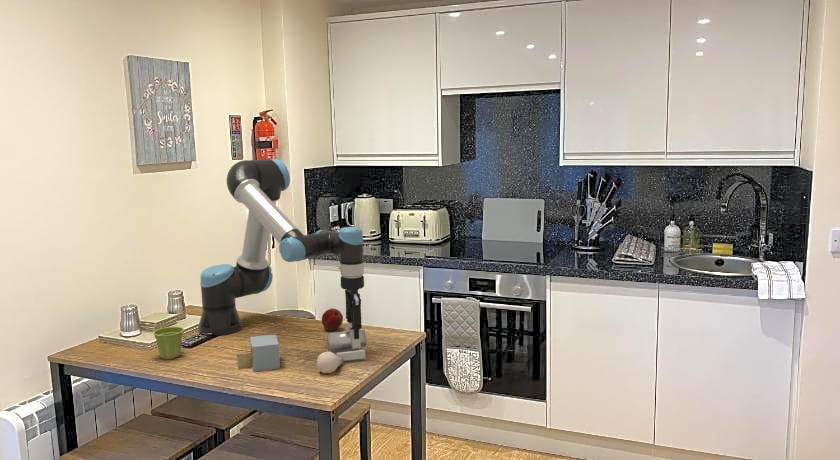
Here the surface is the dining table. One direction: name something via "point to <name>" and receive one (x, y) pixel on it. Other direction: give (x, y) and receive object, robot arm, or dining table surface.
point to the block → (265, 352)
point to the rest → (350, 354)
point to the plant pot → (169, 341)
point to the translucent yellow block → (245, 360)
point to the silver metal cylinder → (343, 340)
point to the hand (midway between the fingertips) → (354, 344)
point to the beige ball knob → (328, 362)
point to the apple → (332, 319)
